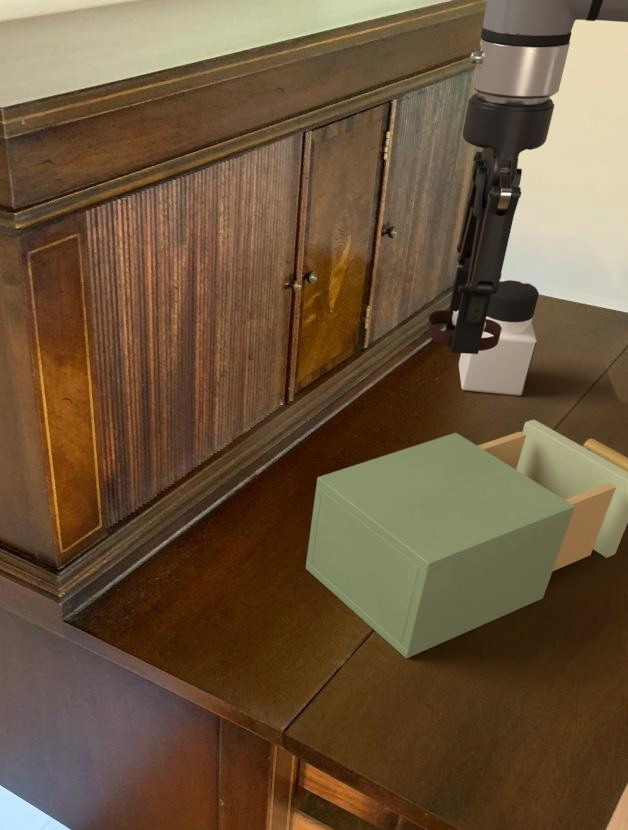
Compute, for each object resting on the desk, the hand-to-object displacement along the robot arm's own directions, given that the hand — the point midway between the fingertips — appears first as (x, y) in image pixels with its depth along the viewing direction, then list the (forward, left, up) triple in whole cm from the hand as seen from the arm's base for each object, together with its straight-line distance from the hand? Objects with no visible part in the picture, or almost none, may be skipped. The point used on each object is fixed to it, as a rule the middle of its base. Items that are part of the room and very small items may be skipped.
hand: (461, 339), depth 98 cm
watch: (0, 0, 0) cm, 0 cm away
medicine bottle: (-7, -12, -10) cm, 17 cm away
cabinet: (+4, +30, -10) cm, 32 cm away
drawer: (-6, +22, -9) cm, 24 cm away
